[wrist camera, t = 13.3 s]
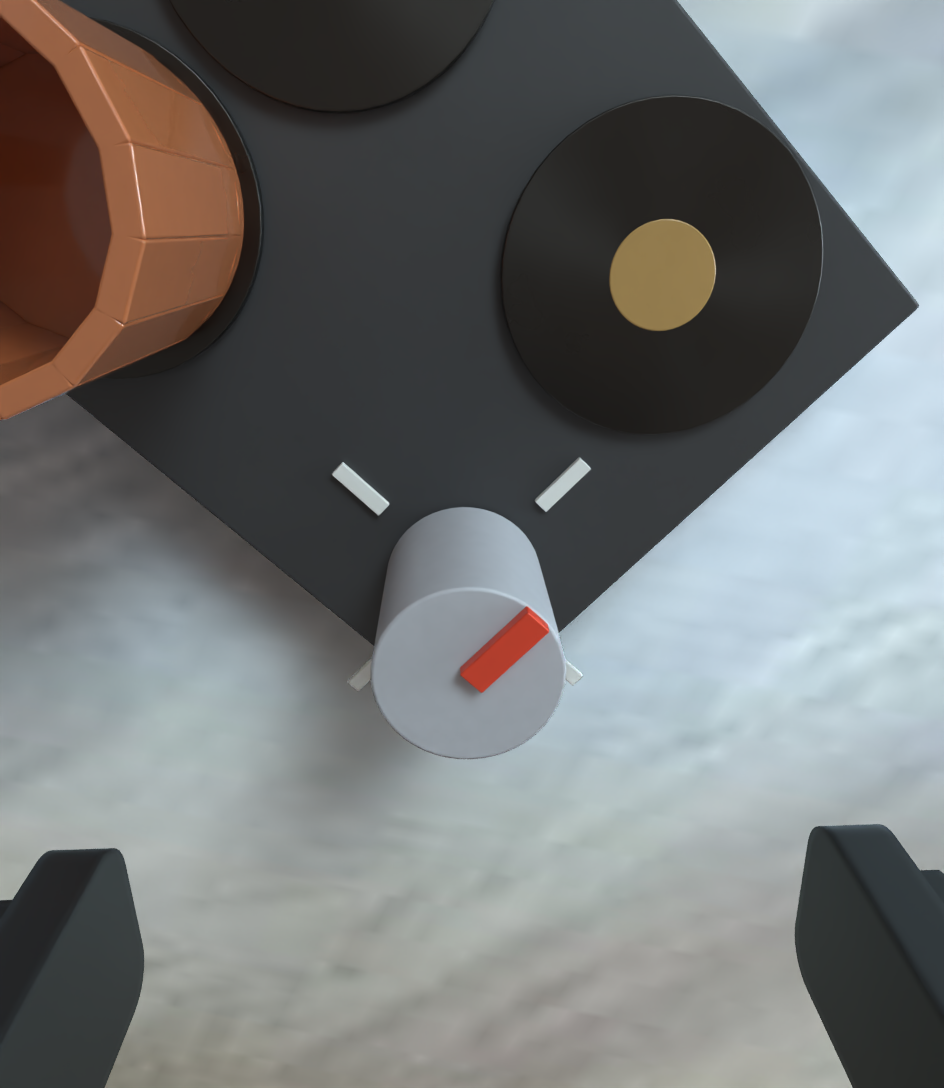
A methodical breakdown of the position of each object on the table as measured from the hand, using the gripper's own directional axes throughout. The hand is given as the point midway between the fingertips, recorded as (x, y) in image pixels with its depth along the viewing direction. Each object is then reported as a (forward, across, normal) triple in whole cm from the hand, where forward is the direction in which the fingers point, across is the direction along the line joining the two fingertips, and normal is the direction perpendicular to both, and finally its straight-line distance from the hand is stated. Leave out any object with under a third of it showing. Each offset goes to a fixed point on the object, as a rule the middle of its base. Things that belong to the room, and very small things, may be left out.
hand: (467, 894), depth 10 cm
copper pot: (+10, +7, -8) cm, 15 cm away
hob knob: (+10, 0, 0) cm, 10 cm away
